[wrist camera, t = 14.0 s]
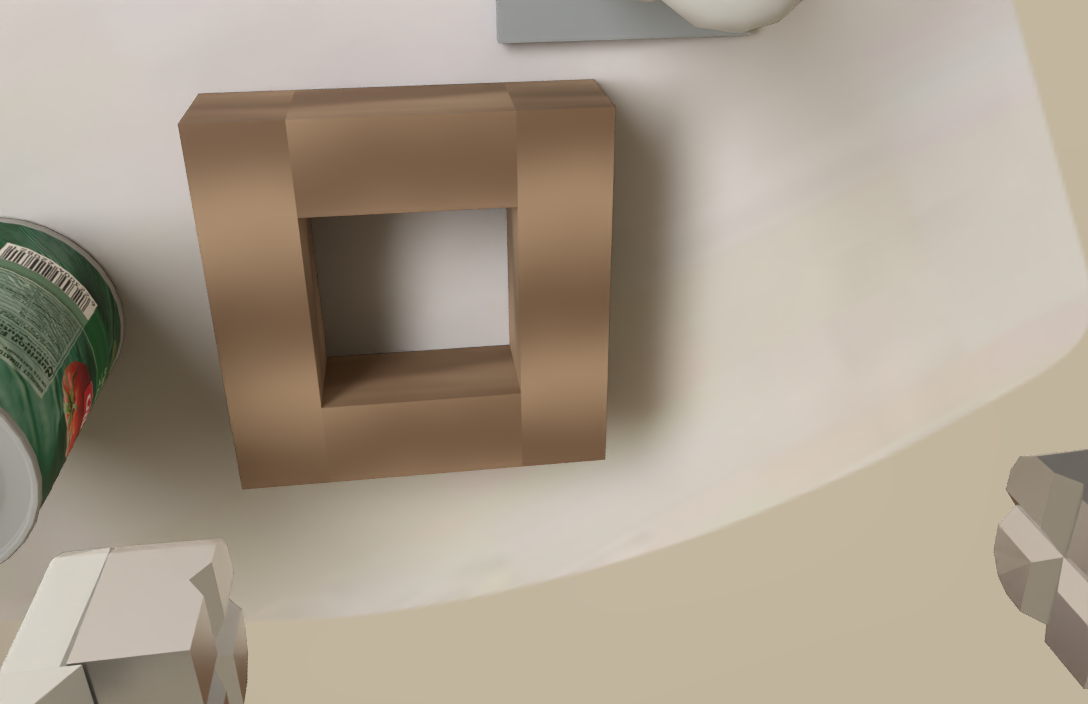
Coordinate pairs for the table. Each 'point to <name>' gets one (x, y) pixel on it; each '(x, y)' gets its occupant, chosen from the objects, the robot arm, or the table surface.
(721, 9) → the salt shaker
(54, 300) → the canned tomato
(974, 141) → the table surface
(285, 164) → the socket block
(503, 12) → the coaster
